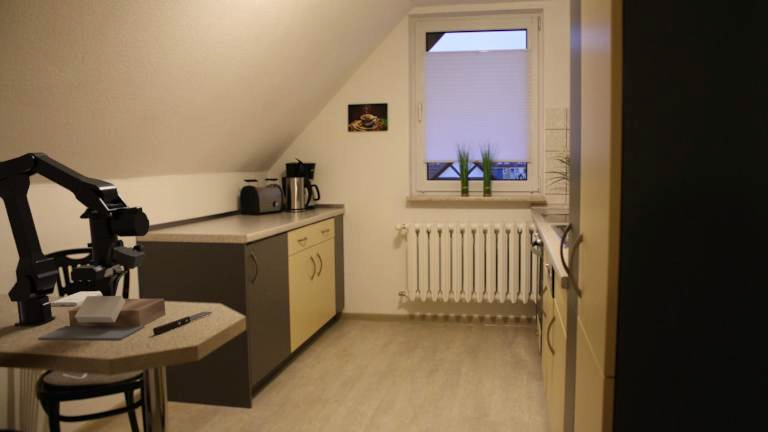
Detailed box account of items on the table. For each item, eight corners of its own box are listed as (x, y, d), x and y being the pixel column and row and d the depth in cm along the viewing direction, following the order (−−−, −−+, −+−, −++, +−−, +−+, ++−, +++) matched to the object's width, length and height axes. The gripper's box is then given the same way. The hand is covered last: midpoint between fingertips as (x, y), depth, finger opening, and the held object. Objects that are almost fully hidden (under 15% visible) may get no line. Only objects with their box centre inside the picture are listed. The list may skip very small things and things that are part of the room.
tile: (78, 322, 141) (74, 316, 139) (90, 301, 145) (86, 296, 144) (114, 322, 139) (110, 316, 138) (125, 301, 144) (121, 295, 142)
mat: (38, 339, 136) (38, 337, 136) (66, 327, 145) (66, 325, 145) (121, 339, 132) (120, 337, 132) (144, 327, 141) (144, 325, 141)
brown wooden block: (70, 327, 144) (68, 310, 144) (99, 314, 155) (98, 299, 155) (140, 327, 141) (138, 310, 141) (165, 314, 152) (164, 298, 152)
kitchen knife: (156, 337, 134) (155, 328, 134) (153, 336, 135) (152, 328, 134) (214, 315, 150) (213, 307, 150) (211, 315, 151) (210, 307, 151)
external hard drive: (104, 296, 179) (77, 307, 167) (79, 297, 180) (49, 307, 168) (104, 291, 179) (76, 301, 166) (78, 291, 180) (49, 301, 168)
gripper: (111, 242, 133) (118, 313, 135) (157, 230, 151) (163, 293, 153) (65, 243, 135) (73, 313, 137) (116, 231, 153) (122, 293, 155)
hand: (111, 302), depth 145 cm, fingers closed
